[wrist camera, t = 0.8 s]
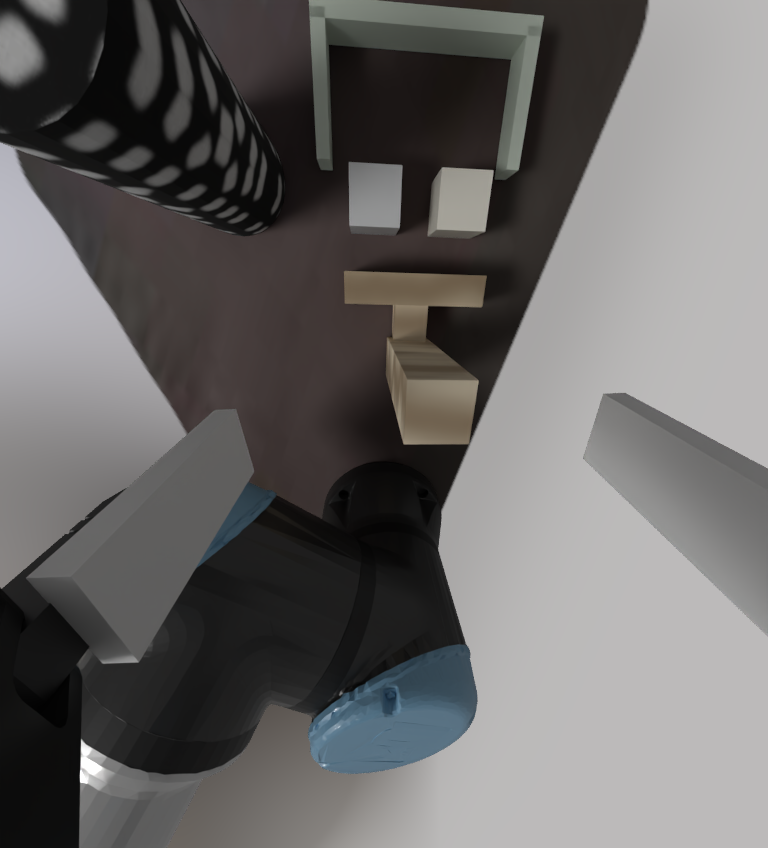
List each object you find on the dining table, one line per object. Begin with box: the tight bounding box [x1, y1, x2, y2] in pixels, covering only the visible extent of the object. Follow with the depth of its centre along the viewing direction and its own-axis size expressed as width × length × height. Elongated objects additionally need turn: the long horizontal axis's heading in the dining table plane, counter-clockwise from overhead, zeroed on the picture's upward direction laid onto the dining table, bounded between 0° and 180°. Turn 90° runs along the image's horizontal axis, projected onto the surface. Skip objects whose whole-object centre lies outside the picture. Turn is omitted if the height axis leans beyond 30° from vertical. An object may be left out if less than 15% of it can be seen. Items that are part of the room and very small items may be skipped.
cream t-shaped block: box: [344, 271, 487, 444], centre depth 24 cm, size 10×12×16 cm
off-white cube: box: [428, 167, 494, 238], centre depth 26 cm, size 4×4×4 cm
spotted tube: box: [0, 0, 285, 236], centre depth 17 cm, size 8×8×20 cm
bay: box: [309, 0, 544, 180], centre depth 23 cm, size 8×16×2 cm, turn 88°
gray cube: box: [349, 162, 402, 235], centre depth 25 cm, size 4×4×4 cm
